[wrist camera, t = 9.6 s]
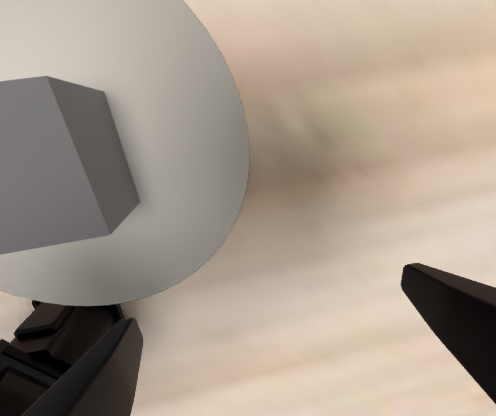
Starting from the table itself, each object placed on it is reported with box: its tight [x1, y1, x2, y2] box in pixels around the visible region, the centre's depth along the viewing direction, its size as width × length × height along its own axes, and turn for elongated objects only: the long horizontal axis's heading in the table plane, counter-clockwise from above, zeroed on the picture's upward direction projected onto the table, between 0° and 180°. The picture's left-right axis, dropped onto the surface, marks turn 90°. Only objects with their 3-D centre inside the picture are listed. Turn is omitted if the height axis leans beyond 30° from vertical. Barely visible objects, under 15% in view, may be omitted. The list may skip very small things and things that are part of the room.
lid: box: [0, 0, 250, 306], centre depth 7 cm, size 12×12×3 cm
